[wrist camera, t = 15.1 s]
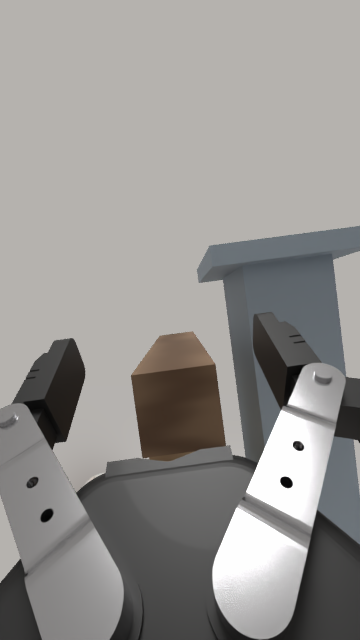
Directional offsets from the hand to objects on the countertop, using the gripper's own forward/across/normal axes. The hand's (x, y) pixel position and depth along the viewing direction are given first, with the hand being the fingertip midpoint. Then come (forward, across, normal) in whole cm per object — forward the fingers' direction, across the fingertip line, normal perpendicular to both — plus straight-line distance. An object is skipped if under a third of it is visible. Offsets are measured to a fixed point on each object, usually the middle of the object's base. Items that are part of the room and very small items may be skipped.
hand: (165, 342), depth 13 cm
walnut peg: (+7, 0, +10) cm, 12 cm away
